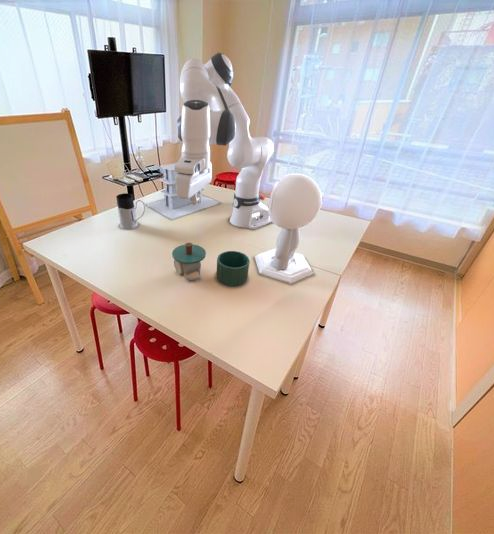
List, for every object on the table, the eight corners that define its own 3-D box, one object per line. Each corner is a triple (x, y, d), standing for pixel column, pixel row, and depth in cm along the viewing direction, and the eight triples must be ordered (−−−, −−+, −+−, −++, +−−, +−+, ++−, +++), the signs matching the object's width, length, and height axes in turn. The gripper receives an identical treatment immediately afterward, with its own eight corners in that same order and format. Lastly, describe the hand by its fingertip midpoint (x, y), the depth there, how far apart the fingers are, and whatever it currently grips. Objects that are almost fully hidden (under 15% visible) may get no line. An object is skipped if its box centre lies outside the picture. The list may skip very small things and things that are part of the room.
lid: (197, 244, 105) (197, 233, 102) (211, 260, 96) (212, 248, 93) (167, 251, 101) (166, 240, 98) (179, 268, 92) (179, 257, 89)
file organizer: (145, 204, 157) (141, 165, 145) (193, 191, 176) (192, 155, 163) (171, 219, 141) (169, 177, 129) (220, 203, 159) (222, 164, 147)
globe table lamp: (262, 246, 118) (276, 163, 98) (318, 261, 109) (345, 172, 89) (245, 269, 104) (257, 178, 84) (307, 289, 95) (337, 190, 75)
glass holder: (125, 220, 140) (120, 192, 131) (150, 223, 137) (147, 194, 128) (116, 228, 133) (111, 198, 124) (143, 231, 130) (139, 201, 121)
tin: (236, 265, 106) (238, 248, 102) (253, 281, 98) (255, 263, 94) (211, 273, 103) (211, 255, 98) (226, 290, 94) (227, 271, 90)
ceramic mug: (172, 269, 104) (171, 253, 100) (191, 263, 108) (191, 246, 103) (186, 285, 97) (186, 267, 92) (205, 277, 100) (206, 260, 96)
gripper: (200, 153, 94) (200, 192, 102) (171, 167, 79) (173, 212, 87) (217, 155, 92) (215, 194, 100) (190, 170, 77) (191, 215, 85)
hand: (195, 203), depth 94 cm, fingers closed
